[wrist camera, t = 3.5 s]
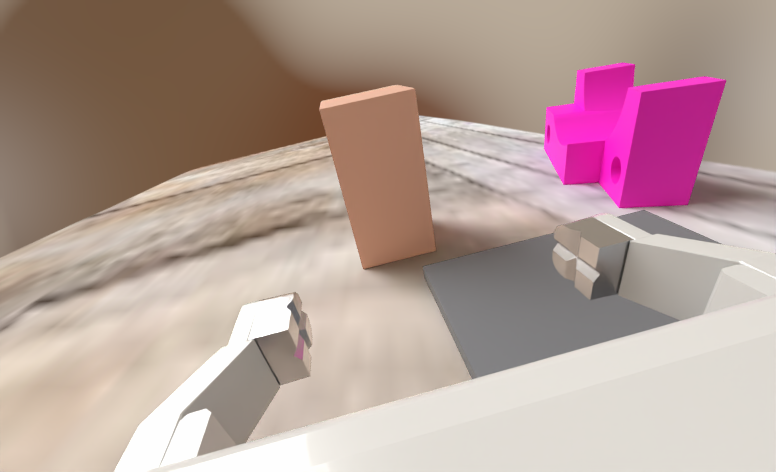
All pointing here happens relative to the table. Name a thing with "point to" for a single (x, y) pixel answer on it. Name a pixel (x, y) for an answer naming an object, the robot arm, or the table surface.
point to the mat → (533, 303)
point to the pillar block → (381, 172)
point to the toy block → (633, 135)
